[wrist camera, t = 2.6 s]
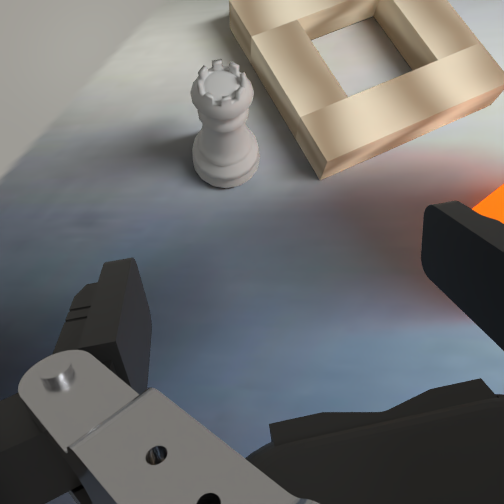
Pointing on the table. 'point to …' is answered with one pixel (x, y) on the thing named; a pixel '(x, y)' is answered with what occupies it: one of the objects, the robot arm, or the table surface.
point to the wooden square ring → (378, 97)
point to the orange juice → (492, 205)
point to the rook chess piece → (224, 126)
